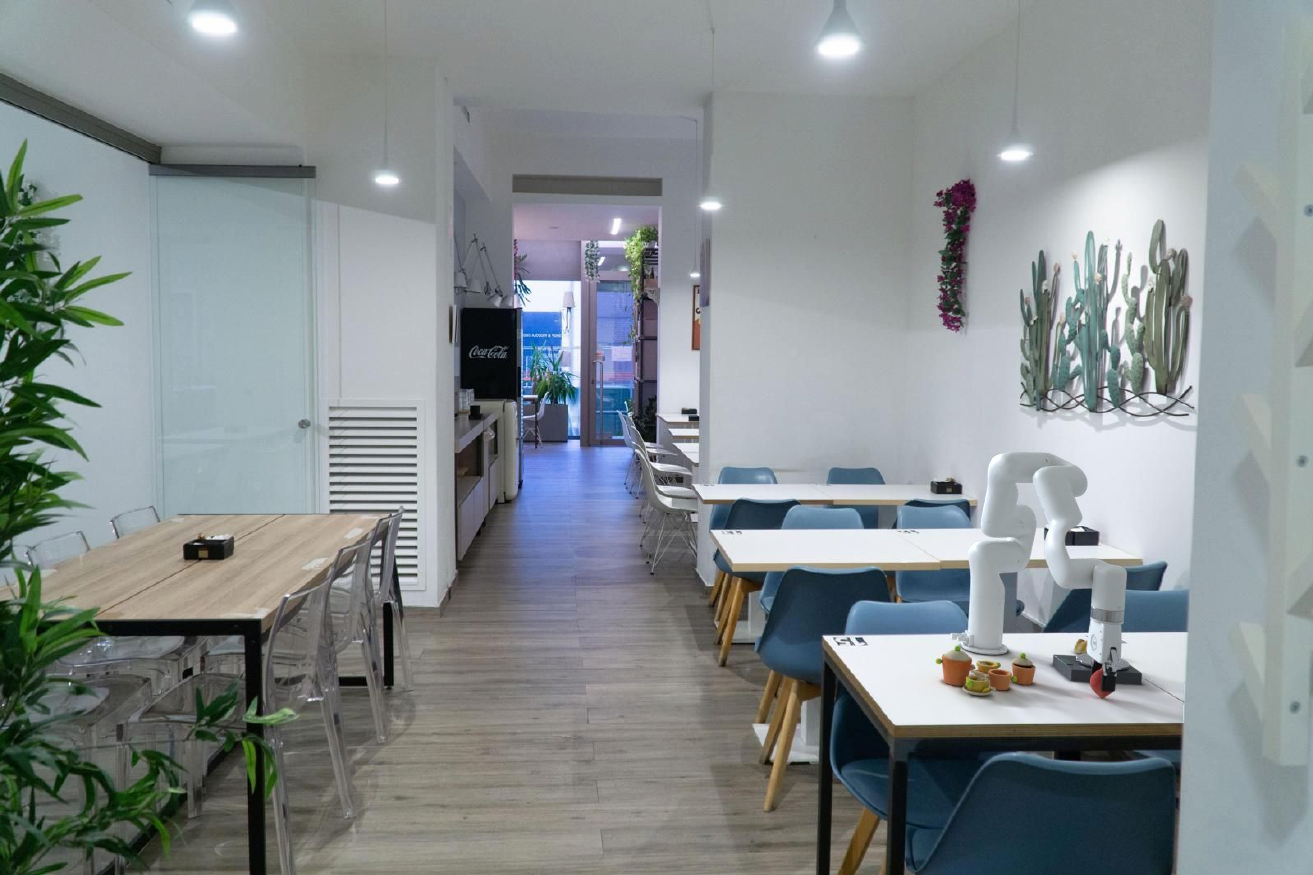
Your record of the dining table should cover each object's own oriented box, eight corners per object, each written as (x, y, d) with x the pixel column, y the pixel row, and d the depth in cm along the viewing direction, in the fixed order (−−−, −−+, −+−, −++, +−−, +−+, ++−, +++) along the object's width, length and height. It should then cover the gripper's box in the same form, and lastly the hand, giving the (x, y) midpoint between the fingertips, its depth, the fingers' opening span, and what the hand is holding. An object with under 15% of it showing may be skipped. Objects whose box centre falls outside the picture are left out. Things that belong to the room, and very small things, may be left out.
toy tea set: (977, 700, 240) (979, 661, 239) (928, 681, 253) (930, 644, 252) (1045, 685, 254) (1048, 648, 253) (996, 668, 267) (998, 633, 266)
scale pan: (1086, 668, 258) (1086, 666, 258) (1068, 654, 271) (1068, 652, 271) (1137, 671, 257) (1137, 668, 257) (1117, 656, 270) (1117, 654, 270)
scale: (1070, 680, 258) (1071, 668, 258) (1052, 665, 272) (1053, 653, 272) (1141, 684, 257) (1142, 672, 257) (1119, 668, 271) (1120, 657, 271)
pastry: (1114, 656, 283) (1115, 643, 282) (1104, 661, 278) (1105, 647, 278) (1081, 649, 289) (1081, 636, 289) (1071, 653, 284) (1072, 640, 284)
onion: (1084, 694, 248) (1086, 662, 247) (1106, 694, 248) (1108, 662, 248) (1096, 701, 242) (1098, 669, 241) (1119, 702, 242) (1121, 669, 242)
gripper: (1078, 606, 252) (1074, 675, 254) (1105, 623, 235) (1100, 697, 236) (1109, 607, 252) (1104, 677, 253) (1137, 624, 235) (1132, 699, 236)
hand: (1102, 686), depth 245 cm, fingers closed on onion, 6 cm apart
